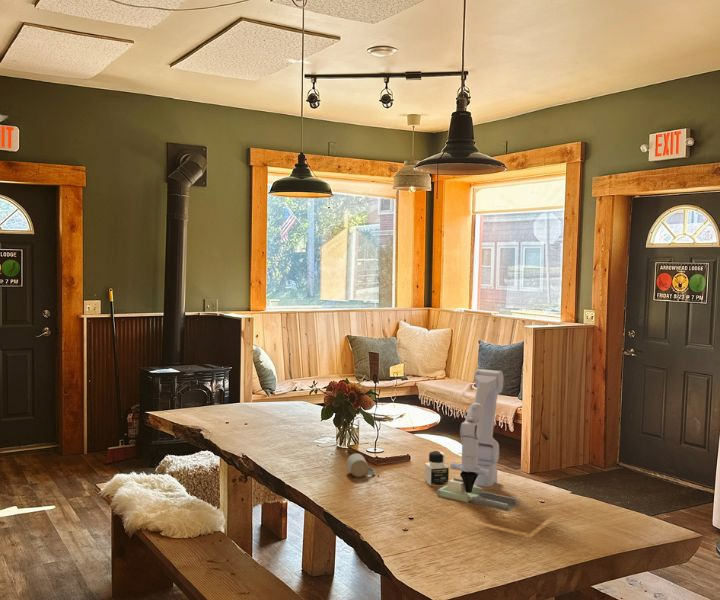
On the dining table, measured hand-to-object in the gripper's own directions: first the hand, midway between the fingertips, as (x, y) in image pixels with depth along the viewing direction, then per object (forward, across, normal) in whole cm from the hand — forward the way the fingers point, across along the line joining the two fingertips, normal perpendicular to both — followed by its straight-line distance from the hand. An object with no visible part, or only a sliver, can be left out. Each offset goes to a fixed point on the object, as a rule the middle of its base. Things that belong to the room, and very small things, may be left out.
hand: (468, 492), depth 269 cm
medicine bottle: (+3, -18, +9) cm, 20 cm away
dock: (+2, +10, 0) cm, 10 cm away
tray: (+2, -4, 0) cm, 4 cm away
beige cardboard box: (+2, -4, 0) cm, 4 cm away
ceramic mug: (+3, -47, 0) cm, 47 cm away
